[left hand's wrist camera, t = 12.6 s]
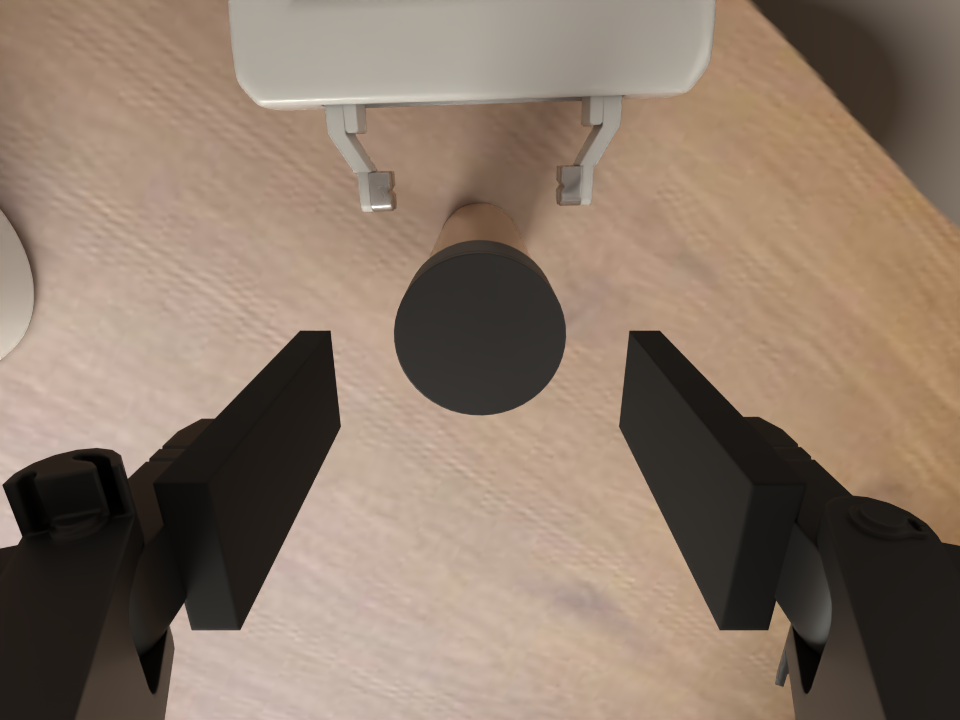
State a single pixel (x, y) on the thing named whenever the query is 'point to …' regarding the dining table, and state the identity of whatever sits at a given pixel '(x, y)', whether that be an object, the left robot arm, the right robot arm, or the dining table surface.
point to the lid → (480, 328)
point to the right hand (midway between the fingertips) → (476, 207)
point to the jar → (480, 227)
